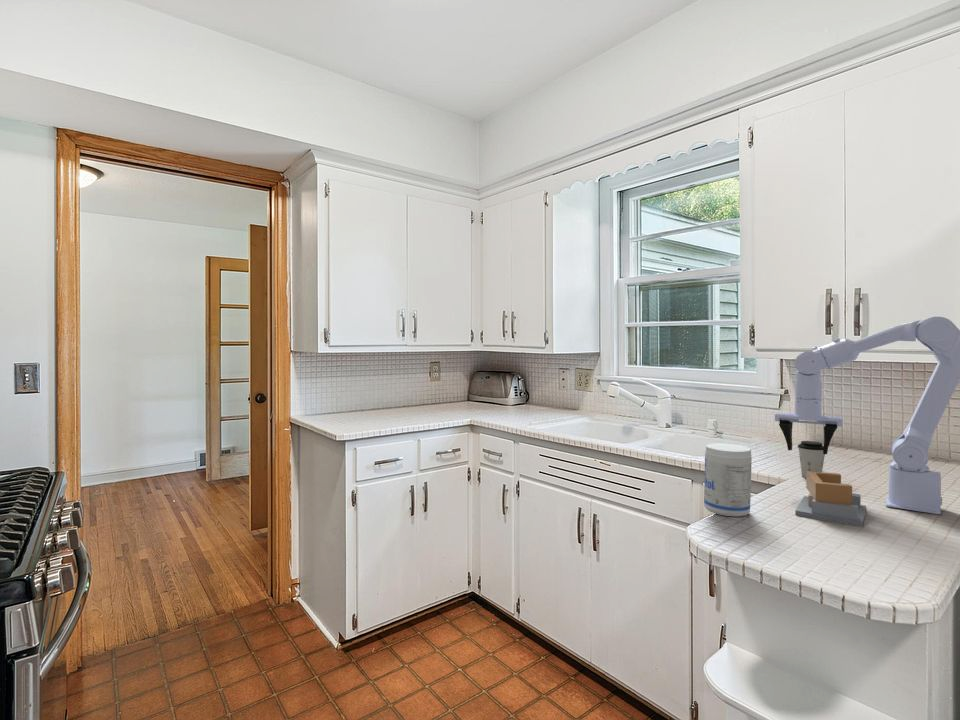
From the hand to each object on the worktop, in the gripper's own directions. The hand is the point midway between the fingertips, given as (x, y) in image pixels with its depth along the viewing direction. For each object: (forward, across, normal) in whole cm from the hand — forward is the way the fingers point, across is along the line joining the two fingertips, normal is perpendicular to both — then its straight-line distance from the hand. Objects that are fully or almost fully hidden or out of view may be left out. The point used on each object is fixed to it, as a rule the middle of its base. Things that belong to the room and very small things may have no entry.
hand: (807, 451), depth 132 cm
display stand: (+10, -6, +16) cm, 20 cm away
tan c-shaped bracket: (+7, -6, +15) cm, 17 cm away
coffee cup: (+11, +1, -18) cm, 21 cm away
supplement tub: (+11, +12, +29) cm, 33 cm away
